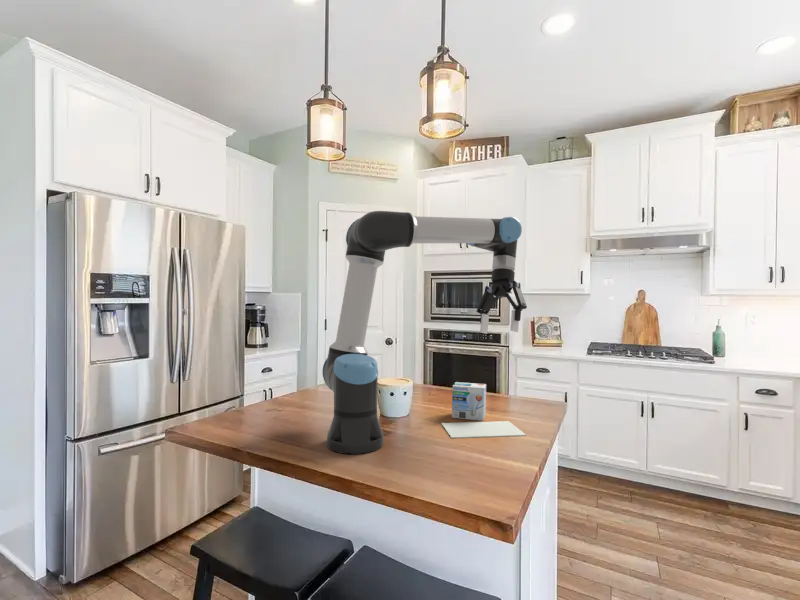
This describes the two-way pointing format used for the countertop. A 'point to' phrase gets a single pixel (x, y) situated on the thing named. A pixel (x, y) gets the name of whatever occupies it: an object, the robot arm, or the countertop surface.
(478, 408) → the light bulb box
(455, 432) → the board
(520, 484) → the countertop surface
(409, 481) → the countertop surface
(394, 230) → the robot arm
